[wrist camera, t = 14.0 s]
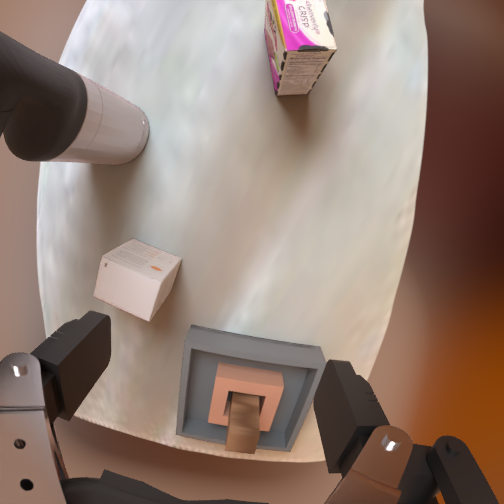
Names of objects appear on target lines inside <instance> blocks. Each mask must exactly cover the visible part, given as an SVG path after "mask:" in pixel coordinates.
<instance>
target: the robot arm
mask: <svg viewBox="0 0 504 504" xmlns="http://www.w3.org/2000/svg"><path fill="white" fill-rule="evenodd" d="M2 133H3V134H4V138H5V142H6V144H7V146H8V148H9V149H10V151H11V152H12V153H13V154H14V155H15V156H17V157H19V158H20V159H23V160H26V161H44V162H77V163H96V164H110V165H121V164H125V163H128V162H130V161H131V160H133V159H134V158H135V157H137V156H138V155H139V154H140V152H141V151H142V150H143V148H144V146H145V144H146V142H147V139H148V134H149V124H148V120H147V117H146V115H145V114H144V112H143V111H142V110H141V109H140V108H139V107H137V106H136V105H134V104H132V103H131V102H129V101H128V100H126V99H124V98H122V97H121V96H119V95H117V94H115V93H114V92H112V91H110V90H108V89H106V88H105V87H103V86H101V85H99V84H97V83H96V82H94V81H92V80H90V79H88V78H86V77H84V76H82V75H80V74H78V73H77V72H75V71H73V70H71V69H69V68H66V67H64V66H62V65H60V64H58V63H56V62H54V61H52V60H50V59H48V58H46V57H44V56H42V55H40V54H38V53H36V52H35V51H33V50H31V49H29V48H28V47H26V46H24V45H22V44H21V43H19V42H17V41H16V40H14V39H12V38H11V37H9V36H7V35H6V34H4V33H2V32H0V137H1V135H2ZM110 357H111V319H110V317H109V316H108V315H105V314H102V313H98V312H95V311H89V312H88V313H86V314H85V315H84V316H83V317H82V318H81V319H80V320H77V319H75V320H72V321H70V322H67V323H65V324H63V325H62V326H61V327H60V328H59V329H58V330H57V332H56V331H55V332H54V333H53V334H52V335H51V337H48V338H47V339H46V340H45V341H44V342H43V343H42V344H41V345H39V346H38V347H37V348H36V349H35V350H34V351H33V352H31V353H30V354H27V353H12V354H9V355H7V356H6V357H4V358H3V359H2V361H1V362H0V504H269V503H258V502H245V501H237V500H229V499H226V500H206V501H205V500H203V501H186V500H181V499H178V498H176V497H173V496H171V495H169V494H167V493H165V492H162V491H160V490H158V489H156V488H154V487H152V486H150V485H148V484H146V483H144V482H142V481H138V480H135V479H132V478H128V477H125V476H122V475H119V474H116V473H113V472H110V471H108V470H104V471H103V474H102V476H101V478H88V477H82V478H70V479H69V476H68V474H67V471H66V468H65V464H64V461H63V457H62V454H61V450H60V446H59V442H58V437H57V433H56V429H55V425H54V421H55V419H56V418H57V417H61V418H63V419H65V420H68V421H70V419H71V418H72V416H73V415H74V413H75V412H76V410H77V409H78V407H79V406H80V404H81V403H82V402H83V400H84V399H85V397H86V396H87V394H88V393H89V392H90V390H91V389H92V387H93V386H94V384H95V383H96V382H97V380H98V379H99V377H100V376H101V375H102V373H103V372H104V370H105V369H106V368H107V366H108V364H109V361H110ZM377 401H378V400H377V398H376V396H375V395H374V392H373V390H372V388H371V386H370V384H369V383H368V382H367V381H366V380H365V379H364V378H363V377H362V376H360V375H356V373H355V371H354V369H353V367H352V365H351V363H350V362H349V361H340V360H329V361H328V362H327V364H326V366H325V369H324V371H323V374H322V376H321V379H320V382H319V384H318V387H317V389H316V392H315V395H314V411H315V415H316V419H317V424H318V428H319V432H320V436H321V441H322V445H323V449H324V454H325V458H326V462H327V467H328V471H329V473H341V474H342V479H341V481H340V482H339V483H338V485H337V486H336V488H335V489H334V491H333V492H332V493H331V495H330V496H329V497H328V499H327V500H326V502H325V503H324V504H439V503H438V501H437V499H436V495H437V494H438V493H439V492H440V491H441V493H442V496H443V498H444V501H445V503H446V504H499V503H498V501H497V499H496V497H495V495H494V493H493V491H492V489H491V487H490V486H489V484H488V482H487V480H486V479H485V476H484V475H483V473H482V471H481V469H480V468H479V466H478V464H477V462H476V461H475V459H474V457H473V455H472V454H471V452H470V451H469V449H468V447H467V446H466V444H465V443H464V442H463V441H461V440H460V439H458V438H456V437H453V436H442V437H440V438H438V439H437V440H436V442H435V443H434V445H433V446H432V447H431V446H424V445H417V444H413V442H412V439H411V437H410V436H409V435H408V434H407V433H406V432H405V431H403V430H402V429H400V428H398V427H395V426H390V424H389V422H388V420H387V418H386V416H385V414H384V412H383V410H382V408H381V406H380V404H379V402H377Z"/></svg>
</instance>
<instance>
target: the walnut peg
mask: <svg viewBox="0 0 504 504" xmlns="http://www.w3.org/2000/svg"><path fill="white" fill-rule="evenodd" d="M259 437H260V423H259V395H253V394H247V393H240V392H234V391H232V394H231V399H230V409H229V418H228V427H227V437H226V446H225V451H232V452H240V453H249V454H254V453H255V450H256V447H257V444H258V440H259Z"/></svg>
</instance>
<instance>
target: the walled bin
mask: <svg viewBox="0 0 504 504" xmlns="http://www.w3.org/2000/svg"><path fill="white" fill-rule="evenodd" d="M325 366H326V361H325V358H324V356H323V353H322V350H321V347H318V346H311V345H303V344H296V343H290V342H283V341H277V340H270V339H264V338H258V337H252V336H247V335H241V334H236V333H230V332H225V331H220V330H215V329H210V328H205V327H200V326H196V325H191V327H190V330H189V332H188V334H187V337H186V339H185V344H184V353H183V362H182V371H181V381H180V392H179V402H178V414H177V427H176V435H179V436H184V437H188V438H193V439H198V440H203V441H209V442H214V443H220V444H226V437H227V427H228V418H229V409H230V399H231V394H232V391H234V392H240V393H247V394H253V395H259V423H260V437H259V440H258V444H257V447H256V449H264V450H275V451H287V452H290V451H291V449H292V447H293V444H294V442H295V440H296V438H297V436H298V433H299V431H300V429H301V427H302V424H303V422H304V420H305V417H306V415H307V413H308V410H309V408H310V405H311V403H312V400H313V398H314V395H315V392H316V389H317V387H318V384H319V382H320V379H321V376H322V374H323V371H324V369H325Z"/></svg>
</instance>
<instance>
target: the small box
mask: <svg viewBox="0 0 504 504" xmlns="http://www.w3.org/2000/svg"><path fill="white" fill-rule="evenodd" d="M181 260H182V259H181V258H179V257H176V256H174V255H171V254H169V253H167V252H164V251H162V250H159V249H157V248H154V247H152V246H150V245H147V244H145V243H142V242H140V241H137V240H135V239H131V240H130V241H128V242H126V243H124V244H122V245H120V246H118V247H117V248H115V249H113V250H111V251H109V252H107V253H106V254H104V255H102V258H101V262H100V266H99V271H98V275H97V280H96V285H95V290H94V295H93V296H94V297H96V298H98V299H100V300H102V301H104V302H106V303H108V304H110V305H113V306H115V307H117V308H119V309H121V310H123V311H126V312H128V313H130V314H132V315H134V316H137V317H139V318H141V319H144V320H146V321H148V322H150V321H151V319H152V318H153V316H154V315H155V313H156V312H157V310H158V309H159V308H160V306H161V305H162V303H163V302H164V300H165V299H166V298H167V296H168V295H169V293H170V292H171V289H172V286H173V283H174V280H175V278H176V275H177V272H178V269H179V266H180V263H181Z"/></svg>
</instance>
